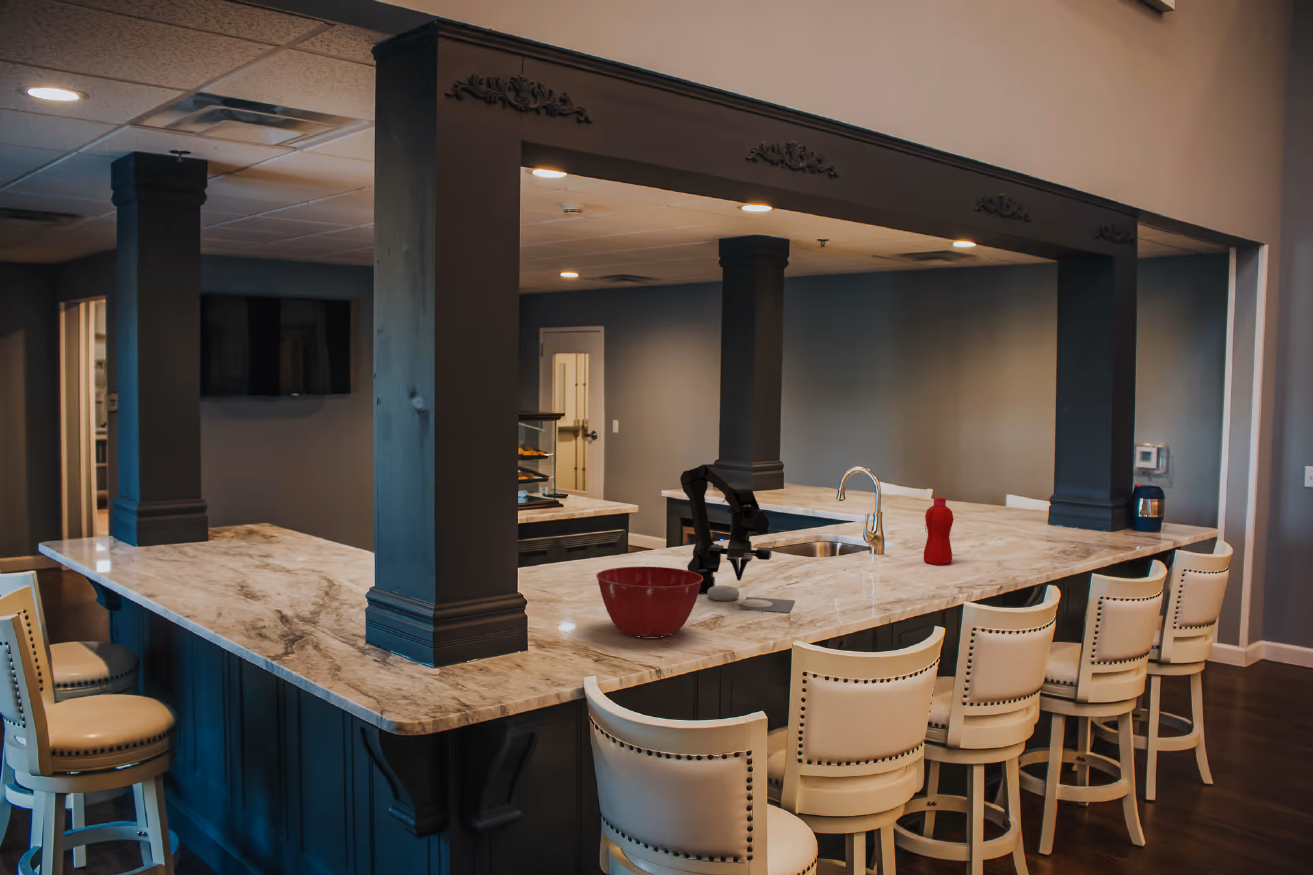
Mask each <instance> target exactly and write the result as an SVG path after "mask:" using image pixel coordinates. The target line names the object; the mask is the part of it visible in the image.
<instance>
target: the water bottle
mask: <svg viewBox="0 0 1313 875" xmlns="http://www.w3.org/2000/svg"><path fill="white" fill-rule="evenodd" d="M946 503H947V498H945V497H934V498H933V505H932V506H930V507H928V508H927V509H926V511H925V516H924V519H925V527H924V528H925V533H926V534H927V538H926V542H925V545H924V550H923V557H922V558H923V561H924V562H925V563H926V564H930V565H932V566H933V565H934V566H944V565H945V566H946V565H947V564H948V565H950V564H952V561H953V551H952V546H951V545H952V544H951V540H950V534H951V530H952V527H953V524H954V516H953V515H954V514H953V511H952V510H951V508H949V507H948V506H947V504H946Z"/></svg>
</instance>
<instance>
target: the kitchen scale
mask: <svg viewBox="0 0 1313 875" xmlns="http://www.w3.org/2000/svg"><path fill="white" fill-rule="evenodd" d="M795 602H796V600H795V599H794V600H793V599H781V598H768V597H767V598H766V597H754V596H753V597H751V596H746V597H745V599H743V600H740V601H739V603H738V604H740V606H739V608H738V610H739V609H742V610H741V611H750V610H761V611H760V612H763V611H770V612H769V613H776V612H781V613H780V614H791V612H790V611H792V609H793V607H794V605H795Z"/></svg>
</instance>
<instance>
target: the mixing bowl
mask: <svg viewBox="0 0 1313 875" xmlns="http://www.w3.org/2000/svg"><path fill="white" fill-rule="evenodd" d="M595 577H596V579H597V580H598V586H599V591H600V594H601V599H602V600H603V604H604V606H605V608H606V612H607V613H608V616H609V617H610V619H611V621H612V623H613V625H614V626H615V627H616V628H617V629H618V630H619V631H620V632H622V633H623V632H624V633H625V635H626V634H628V635H627V636H629V635H631V636H630V637H632V636H640V637H661V636H668V635H670V634H672V635H674V633H676V632H679V630H681V629H682V628H683V626H684V625H685V624H686V622H687V621H688V619H689V617H690V616H691V613H692V612H693V610H694V606H695V604H696V601H697V599H698V596H699V594H700V593H699V589H700V586H701V582H702V581H703V577H702V576H701V575H700V574H697V573H695V572H691V571H688V569H682V568H675V567H664V566H663V567H662V566H622V567H614V568H609V569H603V570H601V571H599V572H598V573H596V575H595ZM624 633H623V634H624ZM668 637H669V636H668Z"/></svg>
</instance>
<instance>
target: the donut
mask: <svg viewBox="0 0 1313 875" xmlns="http://www.w3.org/2000/svg"><path fill="white" fill-rule="evenodd" d="M706 594H707V597H708V598H710V599H711V600H713V601H719V602H730V601H735V600H736V599H738V598H739V596H740V591H739V589H738V588H736V587H735V586H730V585H715V586H713V587H711V588H709V589H708V591H707V593H706Z"/></svg>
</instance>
